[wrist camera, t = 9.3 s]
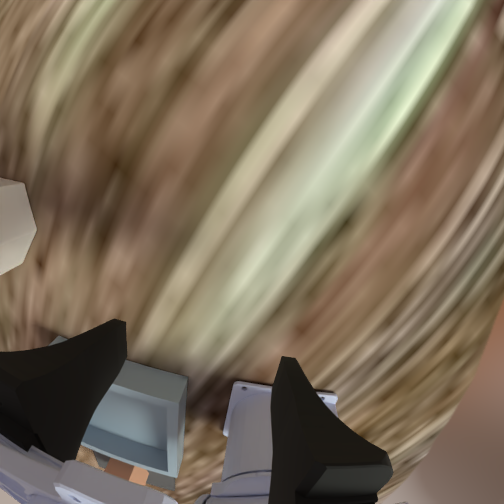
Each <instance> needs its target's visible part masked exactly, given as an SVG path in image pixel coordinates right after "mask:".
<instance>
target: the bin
mask: <svg viewBox="0 0 504 504" xmlns="http://www.w3.org/2000/svg"><path fill="white" fill-rule="evenodd" d="M66 340H68V339H66V338H64V337H61V336H58V337H57V338H56V339H55V340H54V341H53V342H52V343H50V344H49V345H48V346H50V345H53V344H57V343H60V342H63V341H66ZM187 386H188V377H186V376H182V375H178V374H174V373H170V372H167V371H163V370H159V369H155V368H152V367H148V366H145V365H141V364H138V363H135V362H131V361H128V360H125V362H124V365H123V367H122V369H121V371H120V373H119V374H118V376H117V377H116V379H115V381H114V382H113V384H112V385H111V387H110V388H109V390H108V391H107V393H106V394H105V396H104V397H103V399H102V400H101V402H100V403H99V405H98V407H97V408H96V410H95V412H94V414H93V416H92V418H91V420H90V423H89V425H88V427H87V429H86V432H85V434H84V437H83V439H82V442H81V445H83V446H85V447H87V448H89V449H92V450H94V451H96V452H99V453H101V454H104V455H106V456H109V457H111V458H114V459H117V460H119V461H122V462H125V463H128V464H131V465H134V466H137V467H140V468H143V469H146V470H149V471H153V472H156V473H160V474H163V475H167V476H171V477H175V478H177V476H178V472H179V469H180V465H181V461H182V458H183V446H184V428H185V413H186V399H187Z"/></svg>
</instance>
